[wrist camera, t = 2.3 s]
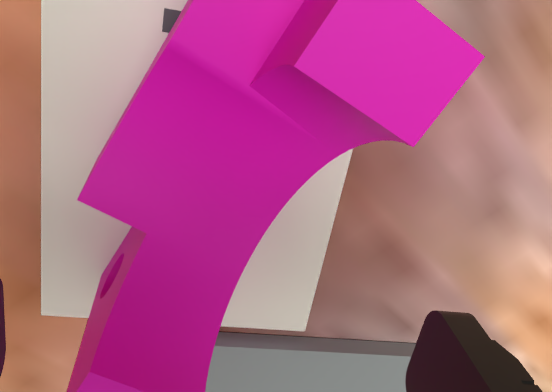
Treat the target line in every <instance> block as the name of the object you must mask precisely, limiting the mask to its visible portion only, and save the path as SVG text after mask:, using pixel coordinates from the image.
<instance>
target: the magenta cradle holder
mask: <svg viewBox="0 0 552 392" xmlns="http://www.w3.org/2000/svg"><path fill="white" fill-rule="evenodd" d="M484 57H485V56H483V55H482V54H481V53H480V52H479V51H477V50H476V49H475V48H474V47H472V46H471V45H470V44H469V43H468V42H466V41H465V40H464V39H463V38H461V37H460V36H459V35H458V34H456V33H455V32H454V31H453V30H452V29H450V28H449V27H448V26H447V25H445V24H444V23H443V22H442V21H441V20H439V19H438V18H437V17H436V16H434V15H433V14H432V13H431V12H429V11H428V10H427V9H426V8H425V7H423V6H422V5H421V4H420V3H418V2H417V1H416V0H188V1H187V3H186V4H185V6H184V8H183V10H182V11H181V13H180V15H179V17H178V18H177V20H176V22H175V23H174V25H173V27H172V29H171V30H170V32H169V34H168V36H167V37H166V39H165V41H164V43H163V44H162V46H161V48H160V50H159V51H158V53H157V55H156V57H155V58H154V60H153V62H152V64H151V65H150V67H149V69H148V71H147V72H146V74H145V76H144V78H143V79H142V81H141V83H140V85H139V86H138V88H137V90H136V92H135V93H134V95H133V97H132V99H131V100H130V102H129V104H128V106H127V107H126V109H125V111H124V113H123V114H122V116H121V118H120V119H119V121H118V123H117V125H116V126H115V128H114V130H113V132H112V133H111V135H110V137H109V139H108V140H107V142H106V144H105V146H104V147H103V149H102V151H101V153H100V154H99V156H98V158H97V160H96V162H95V164H94V166H93V168H92V170H91V172H90V174H89V176H88V178H87V180H86V182H85V184H84V186H83V188H82V191H81V193H80V195H79V197H78V199H77V200H78V201H80V202H82V203H84V204H86V205H88V206H91V207H93V208H95V209H97V210H99V211H101V212H103V213H105V214H107V215H109V216H111V217H113V218H116V219H118V220H120V221H122V222H124V223H126V224H128V225H130V226H132V227H131V229H130V230H129V232H128V233H127V235H126V237H125V238H124V240H123V241H122V243H121V245H120V246H119V248H118V249H117V251H116V253H115V254H114V256H113V257H112V259H111V261H110V262H109V264H108V265H107V267H106V268H105V270H104V272H103V273H102V275H101V278H100V282H99V285H98V288H97V292H96V295H95V298H94V302H93V305H92V308H91V312H90V315H89V318H88V322H87V325H86V328H85V332H84V335H83V338H82V342H81V345H80V348H79V352H78V355H77V358H76V362H75V365H74V368H73V372H72V375H71V379H70V382H69V385H68V389H67V392H205V389H206V382H207V377H208V371H209V366H210V362H211V358H212V354H213V349H214V346H215V342H216V339H217V335H218V332H219V329H220V326H221V323H222V320H223V317H224V315H225V312H226V309H227V306H228V304H229V301H230V299H231V297H232V294H233V292H234V290H235V287H236V285H237V283H238V281H239V279H240V277H241V274H242V273H243V271H244V269H245V267H246V265H247V263H248V261H249V259H250V257H251V255H252V254H253V252H254V250H255V248H256V247H257V245H258V243H259V242H260V240H261V238H262V237H263V235H264V234H265V232H266V231H267V229H268V228H269V226H270V225H271V223H272V222H273V221H274V219H275V218H276V216H277V215H278V214H279V212H280V211H281V210H282V208H283V207H284V206H285V205H286V203H287V202H288V201H289V200H290V199H291V198H292V196H293V195H294V194H295V193H296V192H297V191H298V190H299V189H300V188H301V187H302V186H303V185H304V184H305V183H306V182H307V181H308V180H309V179H310V178H311V177H312V176H313V175H314V174H315V173H316V172H317V171H319V170H320V169H321V168H322V167H324V166H325V165H326V164H327V163H329V162H330V161H332V160H333V159H335V158H336V157H338V156H339V155H341V154H343V153H345V152H346V151H348V150H350V149H353V148H355V147H357V146H359V145H362V144H366V143H369V142H374V141H381V140H393V141H398V142H402V143H405V144H407V145H410V146H412V147H414V146H415V144H416V143H417V142H418V141H419V139H420V138H421V137H422V136H423V134H424V133H425V132H426V131H427V129H428V128H429V127H430V126H431V124H432V123H433V122H434V120H435V119H436V118H437V117H438V115H439V114H440V113H441V112H442V110H443V109H444V108H445V107H446V105H447V104H448V103H449V102H450V100H451V99H452V98H453V96H454V95H455V94H456V93H457V91H458V90H459V89H460V88H461V86H462V85H463V84H464V83H465V81H466V80H467V79H468V77H469V76H470V75H471V74H472V72H473V71H474V70H475V69H476V67H477V66H478V65H479V64H480V62H481V61H482V60H483V59H484Z"/></svg>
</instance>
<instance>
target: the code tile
mask: <svg viewBox="0 0 552 392" xmlns="http://www.w3.org/2000/svg"><path fill="white" fill-rule="evenodd" d="M187 1H188V0H41V315H45V316H62V317H78V318H89V315H90V312H91V308H92V305H93V302H94V298H95V295H96V292H97V288H98V285H99V282H100V278H101V275H102V273H103V272H104V270H105V268H106V267H107V265H108V264H109V262H110V261H111V259H112V257H113V256H114V254H115V253H116V251H117V249H118V248H119V246H120V245H121V243H122V241H123V240H124V238H125V237H126V235H127V233H128V232H129V230H130V229H131V227H132V226H130V225H128V224H126V223H124V222H122V221H120V220H118V219H116V218H113V217H111V216H109V215H107V214H105V213H103V212H101V211H99V210H97V209H95V208H93V207H91V206H88V205H86V204H84V203H82V202H80V201H78V200H77V199H78V197H79V195H80V193H81V191H82V188H83V186H84V184H85V182H86V180H87V178H88V176H89V174H90V172H91V170H92V168H93V166H94V164H95V162H96V160H97V158H98V156H99V154H100V153H101V151H102V149H103V147H104V146H105V144H106V142H107V140H108V139H109V137H110V135H111V133H112V132H113V130H114V128H115V126H116V125H117V123H118V121H119V119H120V118H121V116H122V114H123V113H124V111H125V109H126V107H127V106H128V104H129V102H130V100H131V99H132V97H133V95H134V93H135V92H136V90H137V88H138V86H139V85H140V83H141V81H142V79H143V78H144V76H145V74H146V72H147V71H148V69H149V67H150V65H151V64H152V62H153V60H154V58H155V57H156V55H157V53H158V51H159V50H160V48H161V46H162V44H163V43H164V41H165V39H166V37H167V36H168V34H169V32H170V30H171V29H172V27H173V25H174V23H175V22H176V20H177V18H178V17H179V15H180V13H181V11H182V10H183V8H184V6H185V4H186V3H187ZM352 151H353V149H350V150H348V151H346V152H345V153H343V154H341V155H339V156H338V157H336V158H335V159H333V160H332V161H330V162H329V163H327V164H326V165H325V166H324V167H322V168H321V169H320V170H319V171H317V172H316V173H315V174H314V175H313V176H312V177H311V178H310V179H309V180H308V181H307V182H306V183H305V184H304V185H303V186H302V187H301V188H300V189H299V190H298V191H297V192H296V193H295V194H294V195H293V196H292V198H291V199H290V200H289V201H288V202H287V203H286V205H285V206H284V207H283V208H282V210H281V211H280V212H279V214H278V215H277V216H276V218H275V219H274V221H273V222H272V223H271V225H270V226H269V228H268V229H267V231H266V232H265V234H264V235H263V237H262V238H261V240H260V242H259V243H258V245H257V247H256V248H255V250H254V252H253V254H252V255H251V257H250V259H249V261H248V263H247V265H246V267H245V269H244V271H243V273H242V274H241V277H240V279H239V281H238V283H237V285H236V287H235V290H234V292H233V294H232V297H231V299H230V301H229V304H228V306H227V309H226V312H225V315H224V317H223V320H222V323H221V326H224V327H241V328H257V329H273V330H289V331H305V329H306V325H307V321H308V317H309V314H310V310H311V306H312V302H313V298H314V295H315V291H316V287H317V283H318V280H319V276H320V272H321V268H322V264H323V261H324V257H325V253H326V249H327V245H328V242H329V238H330V234H331V230H332V226H333V223H334V219H335V215H336V211H337V208H338V204H339V200H340V196H341V192H342V189H343V185H344V181H345V177H346V173H347V170H348V166H349V162H350V158H351V154H352Z"/></svg>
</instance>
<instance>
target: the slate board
mask: <svg viewBox="0 0 552 392" xmlns="http://www.w3.org/2000/svg"><path fill="white" fill-rule="evenodd" d="M415 345H416V343H399V342H382V341H365V340H348V339H331V338H314V337H298V336H281V335H264V334H247V333H230V332H218V335H217V339H216V342H215V346H214V349H213V354H212V358H211V362H210V366H209V371H208V377H207V382H206V389H205V392H406V383H405V380H406V371H407V367H408V364H409V362H410V359H411V356H412V353H413V351H414V348H415Z"/></svg>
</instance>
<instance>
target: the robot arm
mask: <svg viewBox="0 0 552 392" xmlns="http://www.w3.org/2000/svg"><path fill="white" fill-rule="evenodd" d="M5 352H6V340H5V319H4V297H3V284H2V281H1V279H0V376H1V373H2V369H3V365H4V360H5ZM405 383H406V392H542V390H541V389H540V388H539V386H538V385H534V380H533V379H532V377H531V376H530V375H529V373H528V372H527V371H526V369H525V368H524V367H523V365H522V364H521V363H520V362H519V360H518V359H517V358H516V357H514V356H513V355H512V354H511V353H509V352H508V351H507V350H506V349H505V348H503V347H502V346H501V345H500V344H498V343H497V342H496V341H495V340H491V339H490V338H489V336H488V335H487V334H486V332H485V331H484V329H483V328H482V327H481V325H480V324H479V323H478V321H477V320H476V319H475V317H474V316H473V315H471V314H469V313H460V312H446V311H431V312H430V313H429V314H428V315H427V317H426V319H425V321H424V324H423V327H422V329H421V332H420V335H419V337H418V340H417V343H416V345H415V348H414V351H413V353H412V356H411V359H410V362H409V364H408V367H407V371H406V380H405Z"/></svg>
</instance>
